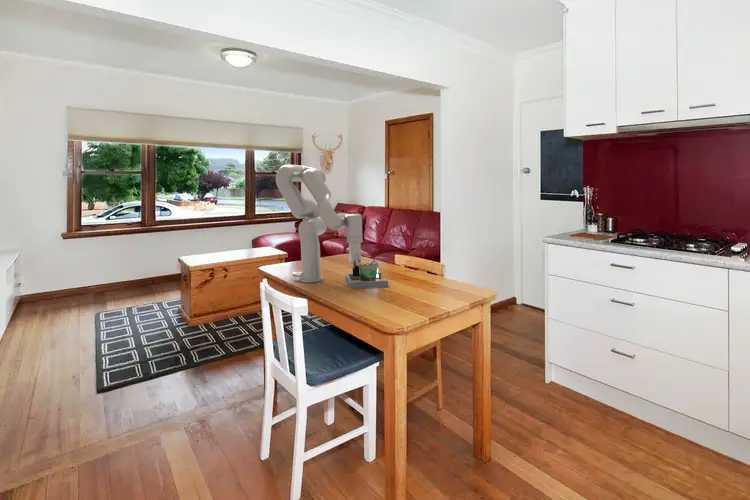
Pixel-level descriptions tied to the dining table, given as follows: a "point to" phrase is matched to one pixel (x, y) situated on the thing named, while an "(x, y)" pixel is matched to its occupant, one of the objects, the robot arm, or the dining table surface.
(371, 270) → the food container
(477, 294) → the dining table surface
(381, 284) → the low box
